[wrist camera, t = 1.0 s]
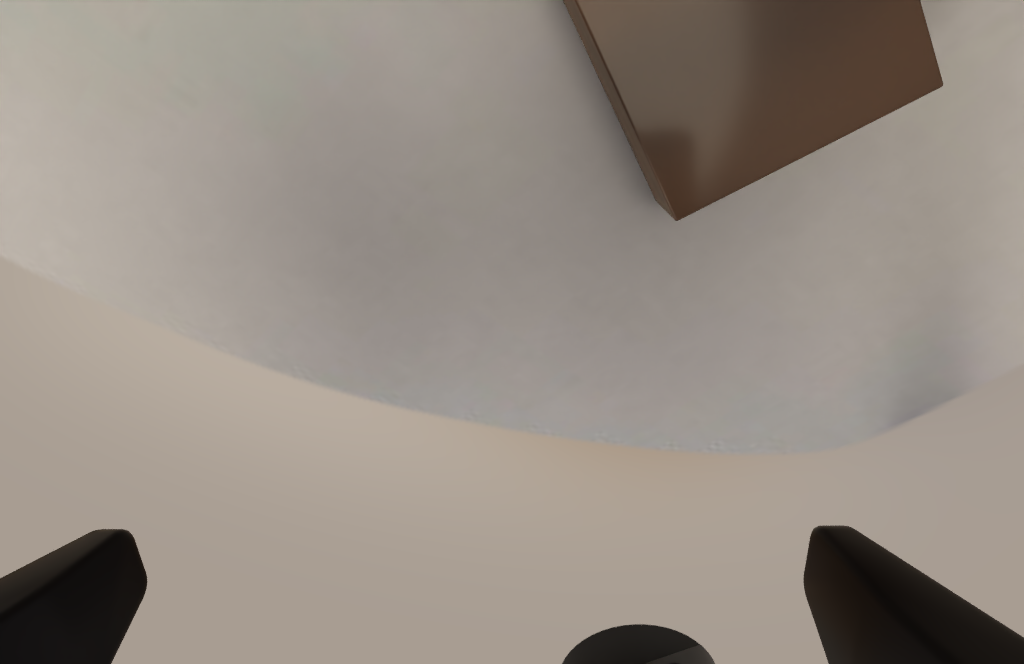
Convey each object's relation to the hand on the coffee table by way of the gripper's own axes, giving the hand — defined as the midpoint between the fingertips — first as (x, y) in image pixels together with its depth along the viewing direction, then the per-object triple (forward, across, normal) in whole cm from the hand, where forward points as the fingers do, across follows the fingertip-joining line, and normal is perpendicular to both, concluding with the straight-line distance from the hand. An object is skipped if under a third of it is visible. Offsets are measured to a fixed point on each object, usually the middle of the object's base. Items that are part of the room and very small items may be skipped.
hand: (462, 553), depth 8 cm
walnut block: (+13, -6, -7) cm, 16 cm away
